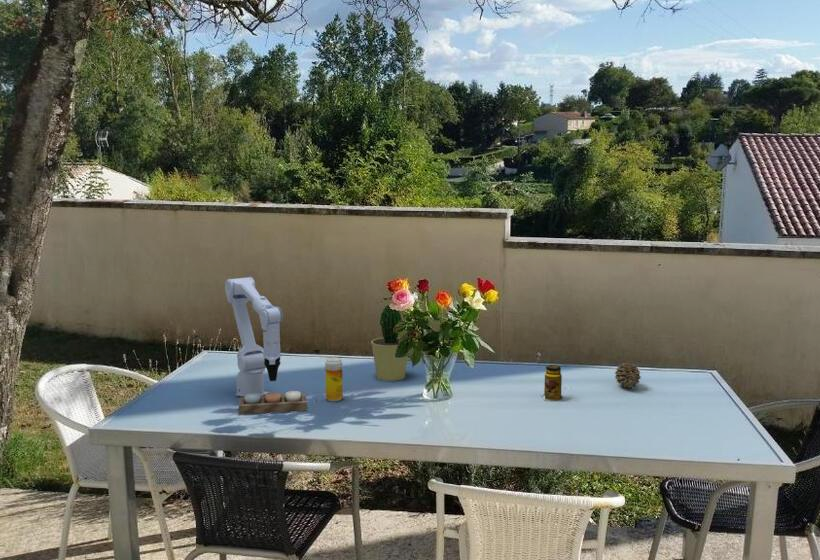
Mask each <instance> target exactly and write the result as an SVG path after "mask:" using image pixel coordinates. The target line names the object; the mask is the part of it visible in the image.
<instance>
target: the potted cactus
mask: <svg viewBox="0 0 820 560" xmlns="http://www.w3.org/2000/svg"><path fill="white" fill-rule="evenodd" d="M389 305H390V303H388V305H385V306H384V308H383V309H382V312H381V313H380V314H381V315H378V317H379V318H378V319H380V320H379V323H378V326H380V327H381V330H379V331H380V333H381V334H382V337H378V338H375V339H372V340H371V341H370V342H371V347H372V354H373V355H372V356H373V361H374V367H375V368H374V369H375V373H376V375H375V376H376V378H377V379H378V380H379V379H380V381H383V380H384V382H396V381H402V380H404V379H405V377H406V372H407V364H408V356H409V355H408V356H407V357H404V358H396V357H395V353H396V349H397V346H398V343H399V339H400V338H401V337H398V335H399V333H395V332H393V328H394V327H395V325H396V324H397V323H398V322H399V321H401V322H402V320H403V317H402V314H401V312H400V310H398V311H396V310H392V309H390V307H389Z"/></svg>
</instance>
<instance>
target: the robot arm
mask: <svg viewBox="0 0 820 560" xmlns="http://www.w3.org/2000/svg"><path fill="white" fill-rule="evenodd" d="M224 291H225V296H226V298H227V299H226V300H227V303H229V304H231V306H232V309H233V315H234V319H235V322H236V326H237V331H238V334H239V338H240V343H241V346H242V347H241V348H240V349H239V351H238V352H237V353H236V358H237V367H238V370H239V371H238V373H237V375H236V377H235V378H236V393H235V396H237V397H238V396H239V397H241V398H243V397H245V395H246V394H250V393H258V394H260V397H262V396H265V394H266V393H270V392H269V391H266V390H264V372H265V371H266V370H267V374H268V379H269V382H276V381H277V378H278V371H279V368H280V366H281V357H284V356H285V353H284V352H281V334H280V333H281V332H280V331H281V330H280V327H281V326H280V324H281V323H282V321H283V312H282V309H281V307H280V306H274V305H273V304H272V303H271V302H270V301H269V300H268V298H267V297H266V296H264V295H260V294H259V291H258V290H257V288H256V282H255V280H254V278H253V277H252V276H248V277H240V278H238V277H237V278H228V279H226V281H225V284H224ZM249 301H250V302H252V304H251V306H252V308H253V310H254V311H255V312H256V313H257V314H258V316H259V321H260V324H261V325H260V326H261V329H262V334H263V335H262V336H263V347H262V346H260V345H258V344H257V343H256V339H255V335H254V330H253V327H252V323H251V319H250V313H249V311H248V306H247V303H249ZM265 369H266V370H265Z"/></svg>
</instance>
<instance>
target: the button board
mask: <svg viewBox="0 0 820 560" xmlns="http://www.w3.org/2000/svg"><path fill="white" fill-rule="evenodd" d="M280 397H281V402H274V403H266V401H265V395H263V396H261V397H260V403H256V404H245V397H240V398H239V402H238V403H239V404H238V415H240V416H242V415H241V414H245V415H256V414H255V413H262V414H272V413H271V412H279V413H292V412H291V411H296V412H307V411H308V401H307V395H306V393H301V401H292V402H286V394H283V395H281V394H280ZM306 410H307V411H306Z"/></svg>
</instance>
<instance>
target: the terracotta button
mask: <svg viewBox="0 0 820 560" xmlns="http://www.w3.org/2000/svg"><path fill="white" fill-rule="evenodd" d="M280 395H281V393H280V392H277V391H270V392H269V393H266V394H265V395H264V396H265V401H266V403H274V402H281V397H280Z"/></svg>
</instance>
